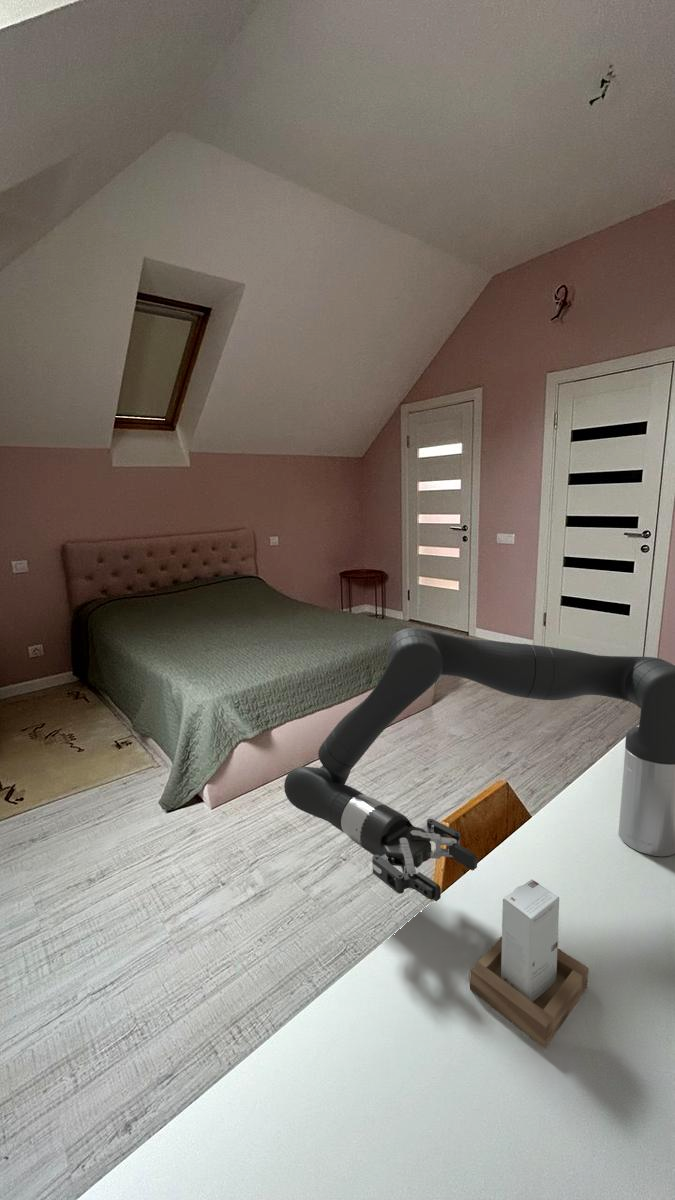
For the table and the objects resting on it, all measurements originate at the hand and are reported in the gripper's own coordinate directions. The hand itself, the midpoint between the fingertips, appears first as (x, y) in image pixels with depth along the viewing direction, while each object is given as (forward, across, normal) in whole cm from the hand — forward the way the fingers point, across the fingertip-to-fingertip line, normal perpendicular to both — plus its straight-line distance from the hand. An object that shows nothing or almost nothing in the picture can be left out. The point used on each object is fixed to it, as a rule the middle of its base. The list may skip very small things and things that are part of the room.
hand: (458, 878), depth 72 cm
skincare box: (+11, 0, +9) cm, 14 cm away
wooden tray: (+11, 0, +10) cm, 14 cm away
